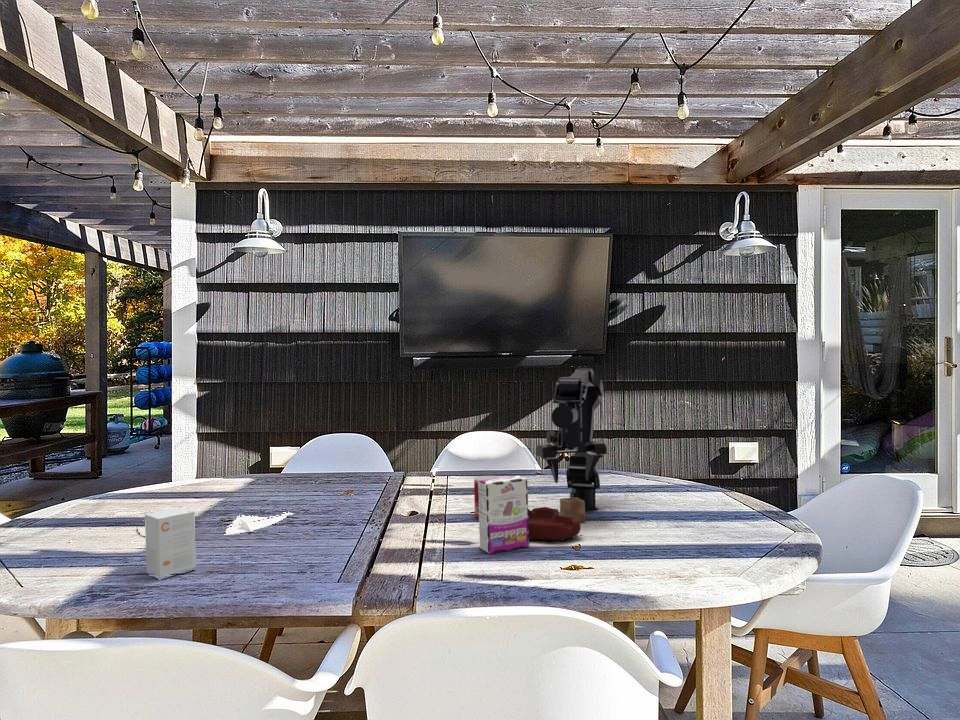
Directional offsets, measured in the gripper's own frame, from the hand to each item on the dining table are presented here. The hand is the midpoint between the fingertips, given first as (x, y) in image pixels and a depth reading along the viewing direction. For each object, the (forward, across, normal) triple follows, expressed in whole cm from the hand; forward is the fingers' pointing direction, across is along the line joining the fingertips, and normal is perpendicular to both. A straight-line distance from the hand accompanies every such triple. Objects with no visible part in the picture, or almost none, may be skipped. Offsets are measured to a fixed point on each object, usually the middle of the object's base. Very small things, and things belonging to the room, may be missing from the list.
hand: (571, 481), depth 177 cm
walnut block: (+11, 0, 0) cm, 11 cm away
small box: (+11, +98, +9) cm, 99 cm away
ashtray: (+11, +13, +9) cm, 20 cm away
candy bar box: (+11, +25, +16) cm, 32 cm away
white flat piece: (+11, +93, -34) cm, 100 cm away
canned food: (+11, +20, -12) cm, 26 cm away
